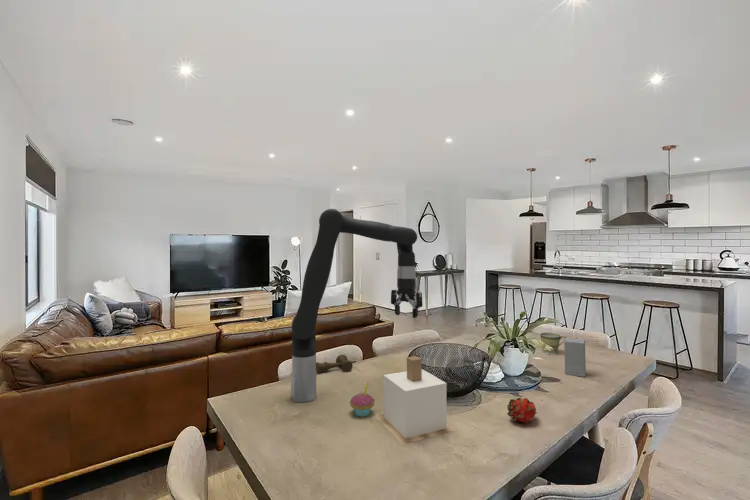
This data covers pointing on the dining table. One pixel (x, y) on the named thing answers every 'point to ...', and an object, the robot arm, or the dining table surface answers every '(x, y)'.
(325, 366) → the kendama
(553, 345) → the ceramic cup
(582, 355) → the skincare box
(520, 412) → the dragon fruit
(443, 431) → the mat
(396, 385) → the white cube with peg
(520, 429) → the dining table surface
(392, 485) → the dining table surface
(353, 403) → the cupcake
